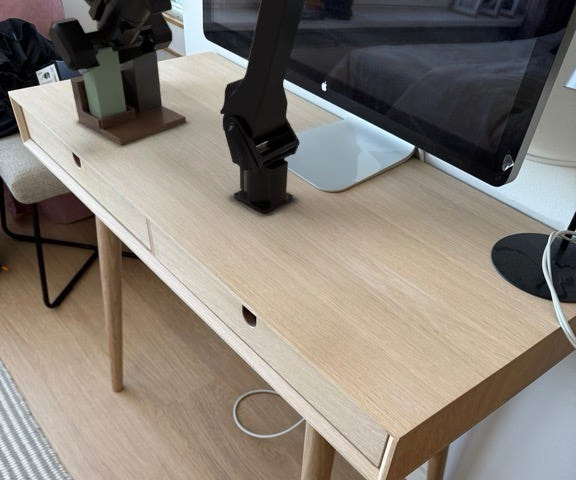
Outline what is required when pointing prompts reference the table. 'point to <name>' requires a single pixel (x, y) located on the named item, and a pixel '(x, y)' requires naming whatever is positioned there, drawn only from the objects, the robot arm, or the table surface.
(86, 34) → the robot arm
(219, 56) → the table surface
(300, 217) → the table surface
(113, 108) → the green upright block
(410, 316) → the table surface
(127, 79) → the frame
